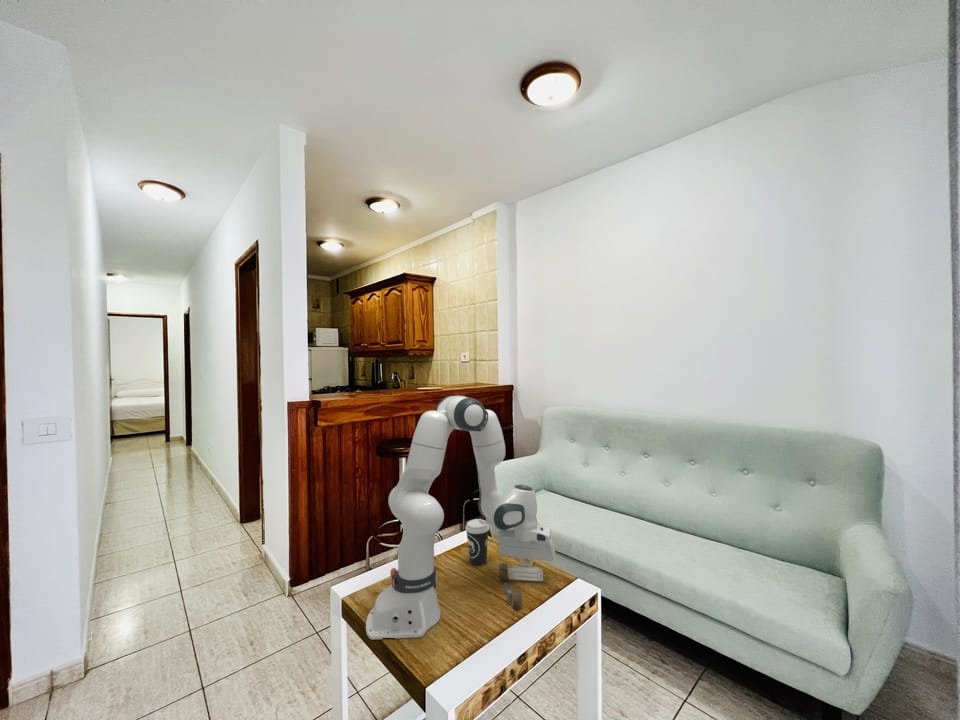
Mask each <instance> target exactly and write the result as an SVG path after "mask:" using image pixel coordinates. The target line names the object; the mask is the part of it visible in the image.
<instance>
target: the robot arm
mask: <svg viewBox="0 0 960 720" xmlns="http://www.w3.org/2000/svg"><path fill="white" fill-rule="evenodd" d="M436 405H437V406H435V408H434V409H433V410H428V411H425V412H424V413H422V414H421V416H420V418H419V420H418V422H417V425H416V427H415V430H414V433H413V437H412V440H411V445H410V449H409V453H408V457H407V460H406V461H407V462H406V464H405V467H404V469H403V472H402V475H401V477H400V478H399V480H398V483H397V484H396V486H395V487H393V488H392V489H391V491H390V492H389V495H388V499H387V501H388V506H389V509H390V511H391V514H393V516H394V517H395V518H396V519H398V520H399V521H400V522H401V525H402V529H403V530H402V538H401V541H400V543H399V544H398V546H397V568H398V569H397V568H396V567H392V568H391V569H390V577H391V584H389V586H387V588H386V587H385V588H386V589H384V590H382V592H380V593H379V594H378V595H377V598H376V600H375V604H374V607H373V608H372V609H371V610H370V611H369V612H368V615H367V617H366V620H365V621H366V622H365V632H366V633H365V634H366V635H367V637H368V638H369V639H370V640H383V639H382V638H395V639H411V638H421V637H423V636H424V635H425V634H426V633H427V631H428V630H429V629H431V628H433V627H434V626H435V625H436V624H437V623H438V622H439V620H440V619H441V616H442V610H441V607H440V605H439V600H438V595H437V589H436V588H437V570H436V566H435V554H434V553H435V539H436V534H437V532H438V531H439V530H440V528H441V527H442V525H443V522H444V520H445V519H444V518H445V513H444V509H443V508H442V506H441V504H440V503H439V501H438V500H437V499H436V498H435V497H434V496H432V495H430V494H429V491H430V488H431V486H432V484H433V482H434V481H435V479H436V478H437V477H439V475H440V474H441V472H442V468H443V463H444V459H445V455H446V454H445V453H446V450H447V445H448V441H449V440H448V439H449V437H450V434H451V433H452V432H453V431H454V430H458V431H459V430H460V431H464V432H469V434H470V438H471V444H472V449H473V455H474V458H475V463H476V471H477V478H478V484H479V497H478V511H479V513H480V514H481V516H483V517H484V518H486V519H487V520H488V521H489V522H491V523H492V524H493V525H494V526H495V527H497V528H498V529H500V530H498V532H497V535H496V536H497V540H498V548H497V549H498V550H497V552H498V555H499V556H500V557H506V558H514V559H516V558H517V559H518V561H519V563H520V565H521V566H522V567H533V564H534V561H536V560H537V561H545V562H546V561H547V562H554V560H555V558H556V550H555V549H556V547H555V543H554V539H553V537H552V535H551V533H552V532H551V529H550V528H549V527H547V526H544V525H541V524H540V523H538V519H537V513H538V503H537V502H538V501H537V495H536V492H535V491H536V490H534V489H533V487H531V486H528V485H525V484H515V485H514V486H513V488H512V489H511V491H510V492H508V493H507V494H506V495H503V494H502V493H501V492H500V491H499V490H498V487H497V479H496V472H495V471H496V470H495V469H496V468H495V467H496V466H499V465H500V464H501V463H502V462H503V461H504V459H505V457H506V443H505V439H504V434H503V430H502V427H501V424H500V421H499V418H498V416H497V414H496V413H495V412H494V411H493V410H491V409H486V408H485V407H484V405H483V403H481V401H480V400H477V398H473V397H467V396H464V395H448V396H445V397H443V398H442V399H441V400H440V401H439V402H438V404H436ZM524 560H529V563H526V562H525V561H524ZM372 613H373V614H372Z"/></svg>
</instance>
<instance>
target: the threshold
mask: <svg viewBox="0 0 960 720" xmlns="http://www.w3.org/2000/svg"><path fill="white" fill-rule="evenodd" d="M502 588H503V589H504V591H505V593H506V594H507V590H511V592H512V601H513V591H514V590H513V588H512V586H511V584H510V583H504V584H503V583H502Z"/></svg>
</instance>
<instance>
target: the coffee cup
mask: <svg viewBox="0 0 960 720" xmlns="http://www.w3.org/2000/svg"><path fill="white" fill-rule="evenodd" d="M464 529H465V532H466V538H467V547H468V556H469V563H470V564H471V565H472V566H475V567H481V566H483V565H486V563H487V560H488V544H489V543H488V537H489V530H490V526H489V524H488V522H487V521H486V520H484V519H481V518H479V519H478V518H475V519H471V520H469V521H467V524H466V525H465V527H464Z"/></svg>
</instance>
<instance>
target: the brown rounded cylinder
mask: <svg viewBox="0 0 960 720" xmlns="http://www.w3.org/2000/svg"><path fill="white" fill-rule="evenodd" d="M506 594H507V595H506V597H507V598H506V599H507V603H508V605H512V609H513V610H514V611H521V610H522V609H523V603H522V601H523V600H522V599H523V598H522V597H523V596H522V595H523V594H522V591H521V590H520V589H514V590H513V600H512V592H511V590H507V593H506Z"/></svg>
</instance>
